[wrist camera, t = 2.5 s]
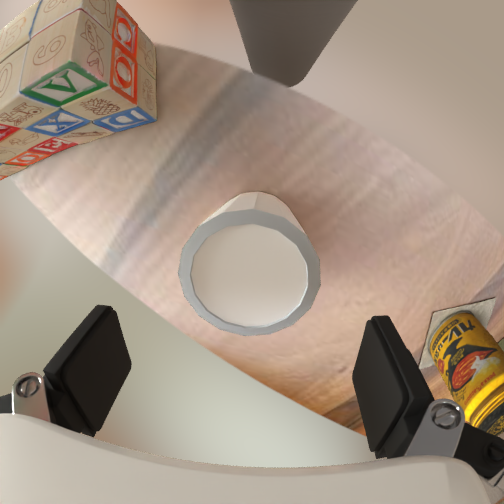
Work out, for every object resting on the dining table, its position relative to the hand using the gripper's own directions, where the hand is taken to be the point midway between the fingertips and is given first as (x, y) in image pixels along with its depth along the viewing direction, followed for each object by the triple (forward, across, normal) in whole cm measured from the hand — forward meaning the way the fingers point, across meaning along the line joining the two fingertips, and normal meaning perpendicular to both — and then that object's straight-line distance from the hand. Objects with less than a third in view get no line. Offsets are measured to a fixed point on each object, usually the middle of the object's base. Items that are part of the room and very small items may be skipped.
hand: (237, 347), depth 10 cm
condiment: (+12, -21, +9) cm, 25 cm away
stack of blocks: (+10, +17, -10) cm, 22 cm away
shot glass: (+11, 0, -1) cm, 11 cm away
